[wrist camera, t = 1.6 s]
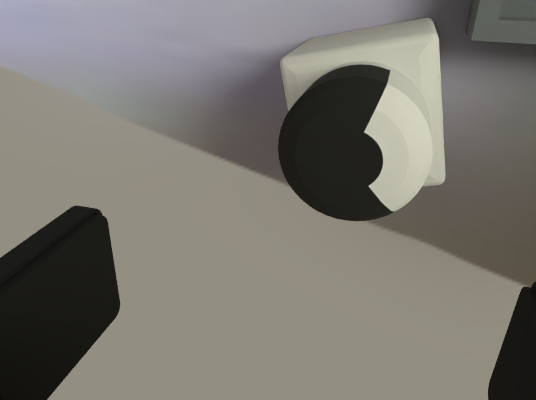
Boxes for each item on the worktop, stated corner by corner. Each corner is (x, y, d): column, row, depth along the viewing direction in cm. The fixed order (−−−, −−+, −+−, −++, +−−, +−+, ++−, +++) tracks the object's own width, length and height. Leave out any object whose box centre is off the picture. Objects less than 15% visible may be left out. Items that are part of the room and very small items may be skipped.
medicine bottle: (324, 150, 31) (278, 243, 20) (307, 38, 28) (243, 80, 17) (439, 139, 28) (453, 238, 18) (433, 15, 25) (445, 48, 15)
